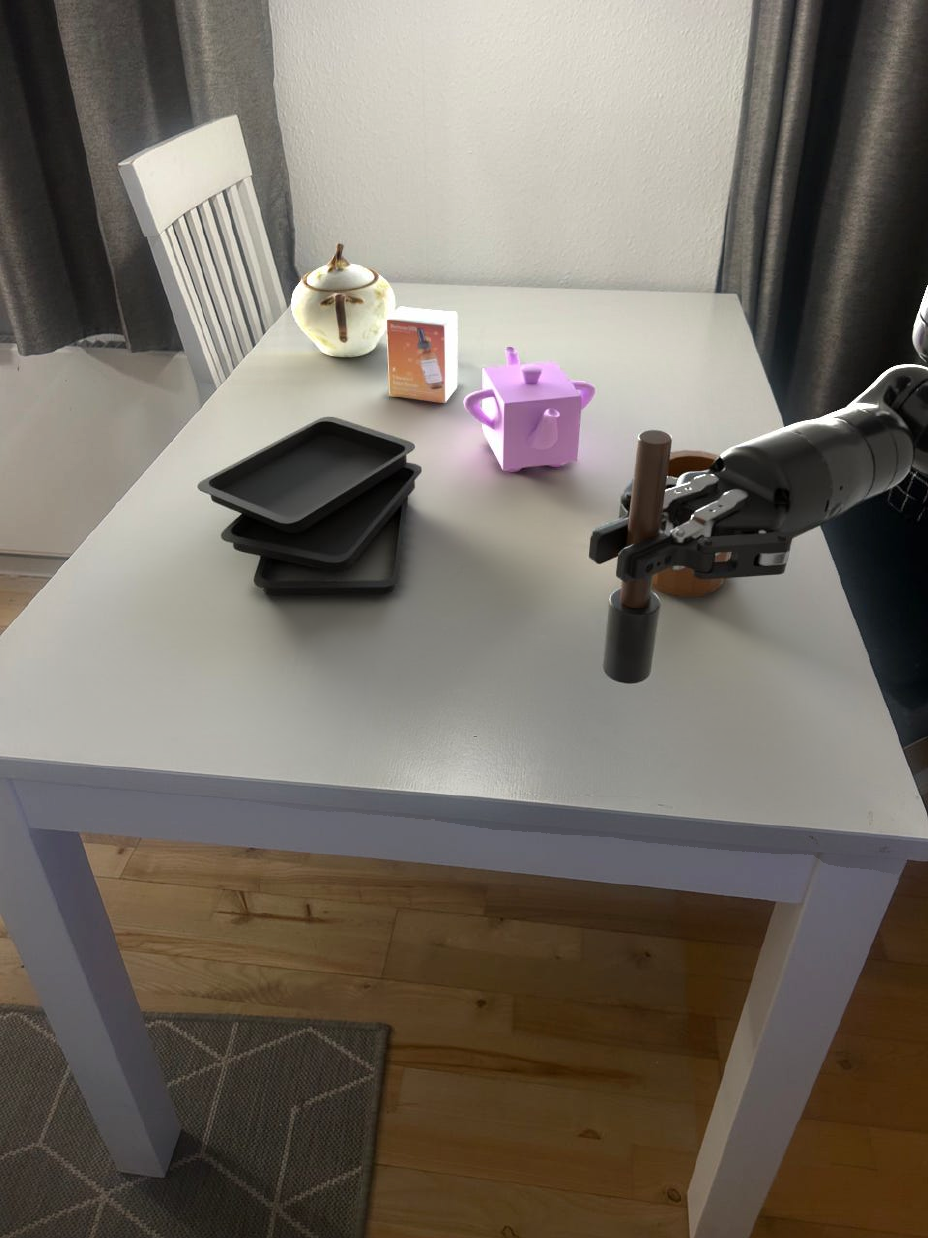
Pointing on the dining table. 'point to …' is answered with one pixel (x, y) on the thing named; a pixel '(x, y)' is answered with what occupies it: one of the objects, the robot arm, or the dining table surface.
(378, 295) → the sugar bowl
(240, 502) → the tray
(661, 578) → the brown cylindrical holder
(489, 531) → the dining table surface
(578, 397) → the teapot
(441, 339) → the small box
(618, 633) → the brush
